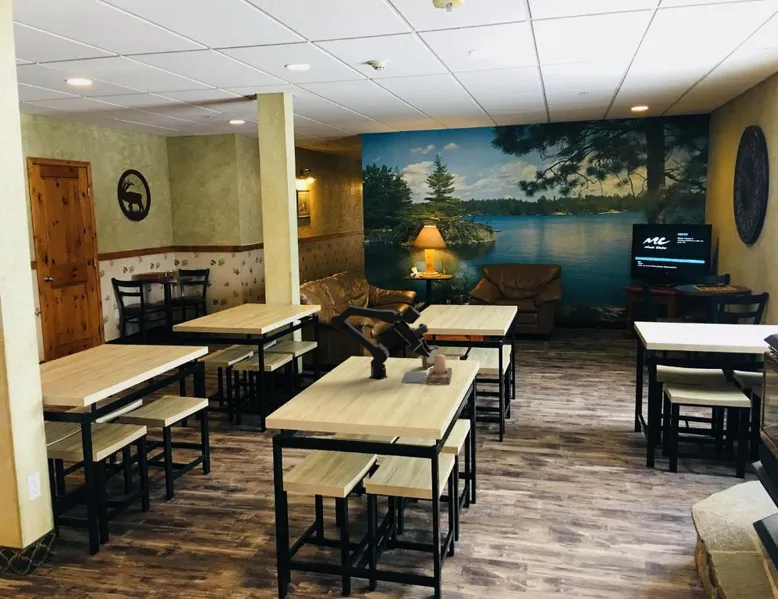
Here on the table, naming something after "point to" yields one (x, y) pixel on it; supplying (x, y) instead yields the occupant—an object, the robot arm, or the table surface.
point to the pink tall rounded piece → (439, 364)
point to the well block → (439, 376)
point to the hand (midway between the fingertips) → (430, 354)
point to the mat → (414, 377)
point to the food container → (430, 361)
